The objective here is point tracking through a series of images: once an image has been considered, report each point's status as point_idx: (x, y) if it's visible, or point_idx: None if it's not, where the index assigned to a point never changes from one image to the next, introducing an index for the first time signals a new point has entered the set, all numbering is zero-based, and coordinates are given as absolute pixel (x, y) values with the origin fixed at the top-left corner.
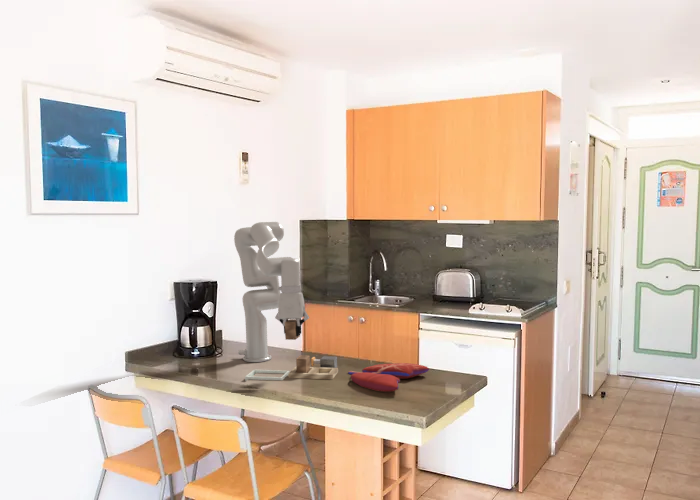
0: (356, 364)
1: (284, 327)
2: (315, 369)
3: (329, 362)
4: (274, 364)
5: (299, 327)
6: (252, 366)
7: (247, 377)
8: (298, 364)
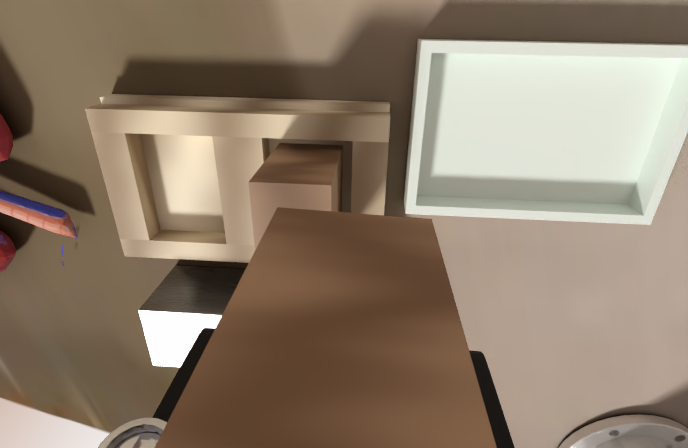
0: (135, 386)
1: (498, 437)
2: (240, 220)
3: (177, 300)
4: (524, 387)
5: (165, 407)
6: (644, 358)
7: None
8: (319, 169)
